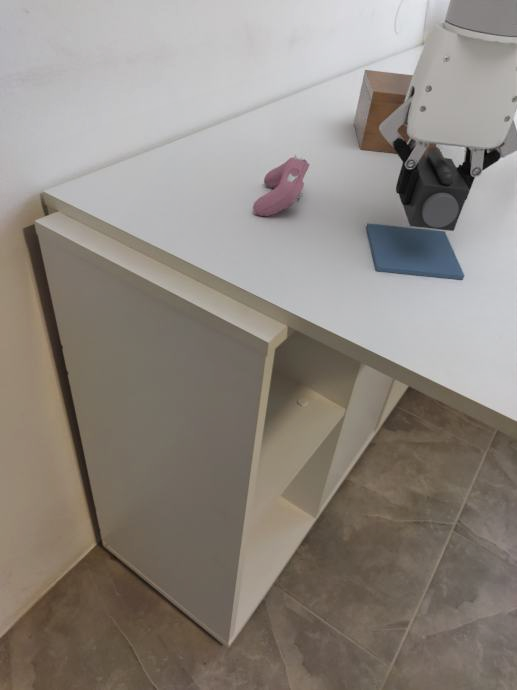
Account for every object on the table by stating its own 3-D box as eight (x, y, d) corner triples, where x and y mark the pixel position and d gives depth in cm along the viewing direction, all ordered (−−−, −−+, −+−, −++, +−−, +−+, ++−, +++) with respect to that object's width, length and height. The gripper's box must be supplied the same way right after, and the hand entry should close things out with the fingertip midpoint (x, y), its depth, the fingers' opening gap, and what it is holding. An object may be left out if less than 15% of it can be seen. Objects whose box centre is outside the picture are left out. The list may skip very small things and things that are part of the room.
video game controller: (278, 232, 68) (311, 190, 63) (248, 212, 67) (279, 168, 62) (289, 198, 75) (318, 158, 71) (262, 179, 74) (290, 138, 70)
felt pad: (443, 235, 68) (445, 231, 68) (462, 280, 61) (464, 275, 60) (365, 227, 68) (367, 222, 67) (375, 271, 60) (377, 266, 60)
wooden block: (419, 131, 97) (434, 77, 91) (432, 157, 88) (450, 100, 82) (353, 123, 96) (364, 69, 90) (360, 149, 87) (373, 91, 81)
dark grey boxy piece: (436, 194, 64) (453, 144, 60) (455, 235, 57) (476, 180, 53) (397, 190, 64) (411, 139, 60) (411, 230, 57) (428, 175, 53)
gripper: (566, 18, 51) (492, 195, 63) (390, -4, 50) (349, 179, 62) (601, 36, 45) (512, 227, 57) (403, 11, 45) (355, 209, 57)
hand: (428, 200), depth 60 cm, fingers closed on dark grey boxy piece, 4 cm apart
